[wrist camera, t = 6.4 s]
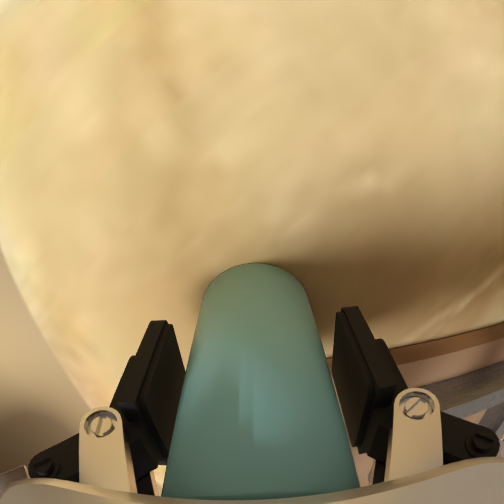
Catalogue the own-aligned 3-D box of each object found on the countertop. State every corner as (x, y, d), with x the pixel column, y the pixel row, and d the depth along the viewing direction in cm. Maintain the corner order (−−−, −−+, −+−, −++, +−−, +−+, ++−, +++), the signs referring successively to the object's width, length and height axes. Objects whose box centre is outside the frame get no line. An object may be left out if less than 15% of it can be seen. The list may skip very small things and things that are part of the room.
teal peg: (309, 258, 12) (387, 473, 4) (308, 348, 14) (347, 536, 6) (193, 267, 12) (126, 483, 4) (210, 355, 14) (186, 544, 6)
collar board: (564, 302, 14) (590, 324, 11) (501, 427, 19) (514, 450, 16) (302, 361, 14) (312, 413, 11) (297, 484, 20) (300, 518, 17)
